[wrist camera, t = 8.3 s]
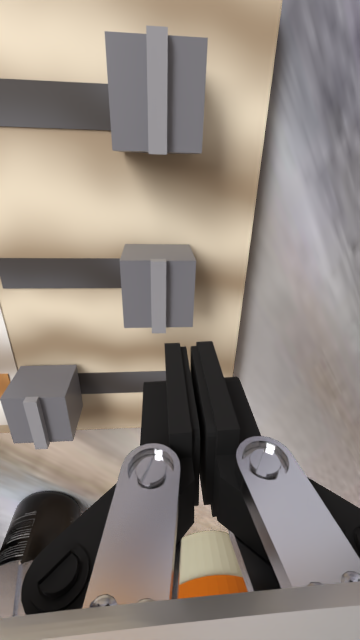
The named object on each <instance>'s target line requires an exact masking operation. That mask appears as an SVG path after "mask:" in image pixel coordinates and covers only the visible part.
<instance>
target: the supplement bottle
mask: <svg viewBox="0 0 360 640" xmlns="http://www.w3.org/2000/svg"><path fill="white" fill-rule="evenodd" d="M79 517H80V508H79V505H78V504H77V502H76V501H75V500H74V499H73V498H71V497H69V496H67V495H65V494H62V493H58V492H39V493H35V494H32V495H30V496H28V497H26V498H25V499H23V500H22V501H21V502H20V503H19V505H18V506H17V508H16V510H15V513H14V516H13V518H12V521H11V523H10V526H9V529H8V531H7V534H6V537H5V539H4V542H3V545H2V548H1V550H0V566H2V565H5V564H8V563H11V562H14V561H17V560H19V561H20V563H21V564H22V563H25V562H28V561H31V560H34V559H35V558H36V557H37V556H38V554H39V553H40V552H41V551H42V550H43V549H44V548H45V547H46V546H48V545H49V544H50V543H51V542H52V541H53V540H54V539H55V538H56V537H58V536H59V535H60V534H61V533H62V532H63V531H64V530H65V529H66V528H68V527H69V526H70V525H71V524H72V523H73V522H74V521H75V520H76V519H78V518H79Z"/></svg>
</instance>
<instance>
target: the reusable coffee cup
mask: <svg viewBox="0 0 360 640" xmlns="http://www.w3.org/2000/svg"><path fill="white" fill-rule="evenodd" d="M243 592H248V591H247V588H246V585H245V582H244V579H243V576H242V573H241V570H240V567H239V564H238V561H237V558H236V555H235V552H234V549H233V546H232V543H231V540H230V536H229V534H227V533H224V532H220V531H203V532H197V533H193V534H191V535H188V536H186V537H184V538H182V549H181V564H180V579H179V595H178V599H181V598H192V597H202V596H212V595H222V594H232V593H243Z"/></svg>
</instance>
